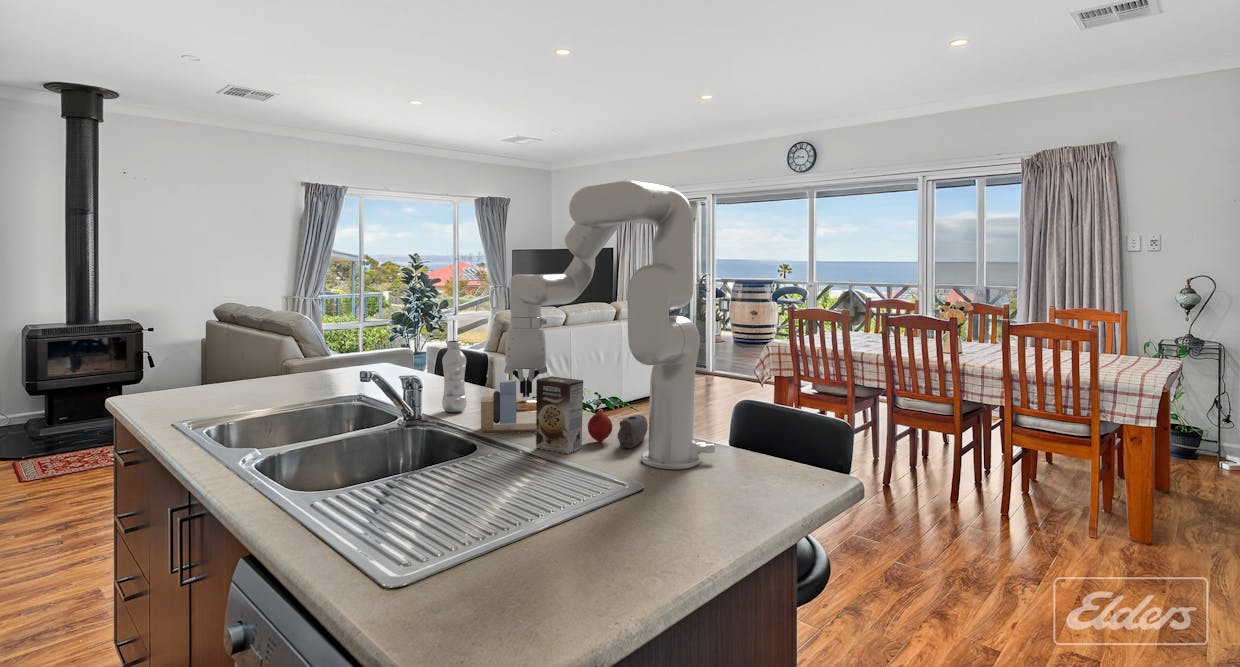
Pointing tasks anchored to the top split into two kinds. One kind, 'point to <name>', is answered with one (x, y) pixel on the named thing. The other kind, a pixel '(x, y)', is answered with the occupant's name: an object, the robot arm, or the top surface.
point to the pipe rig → (490, 427)
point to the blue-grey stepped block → (507, 401)
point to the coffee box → (559, 414)
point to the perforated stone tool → (632, 431)
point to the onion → (599, 426)
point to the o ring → (496, 407)
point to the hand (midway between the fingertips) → (526, 395)
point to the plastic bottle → (454, 378)
